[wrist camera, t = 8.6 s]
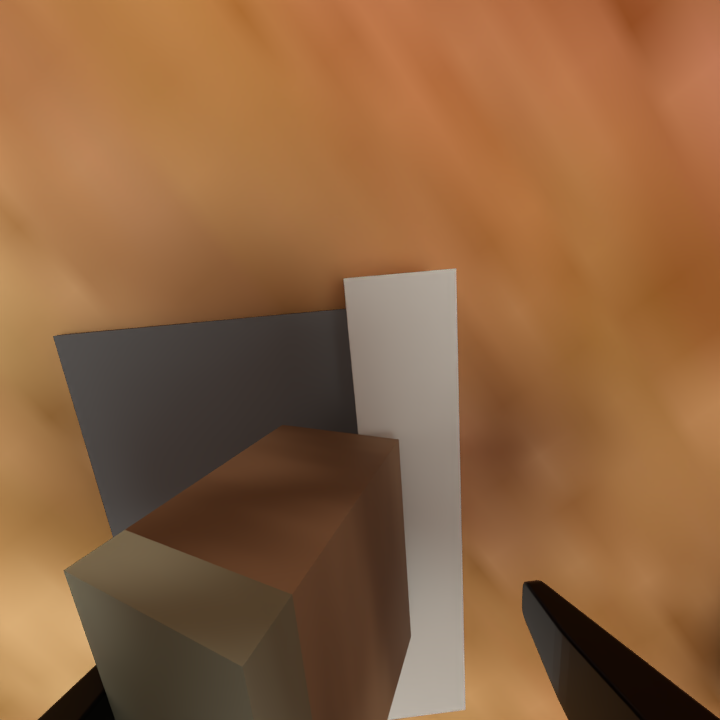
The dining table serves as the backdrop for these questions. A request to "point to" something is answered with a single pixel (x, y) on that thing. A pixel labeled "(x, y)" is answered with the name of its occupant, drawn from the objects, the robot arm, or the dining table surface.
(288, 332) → the mat
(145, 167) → the dining table surface
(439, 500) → the rail
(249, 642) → the block
